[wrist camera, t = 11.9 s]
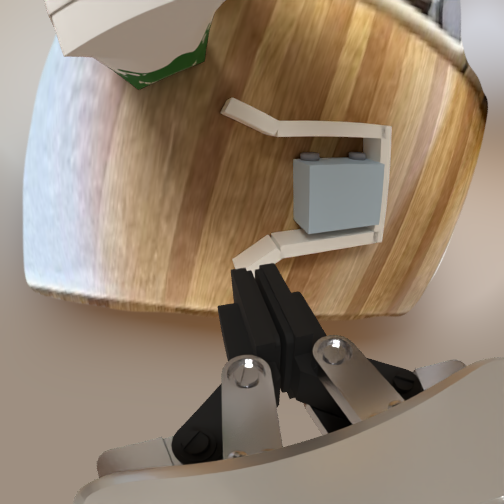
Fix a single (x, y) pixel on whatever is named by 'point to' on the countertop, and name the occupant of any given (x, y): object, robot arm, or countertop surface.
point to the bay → (299, 239)
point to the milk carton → (135, 34)
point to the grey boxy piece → (336, 192)
